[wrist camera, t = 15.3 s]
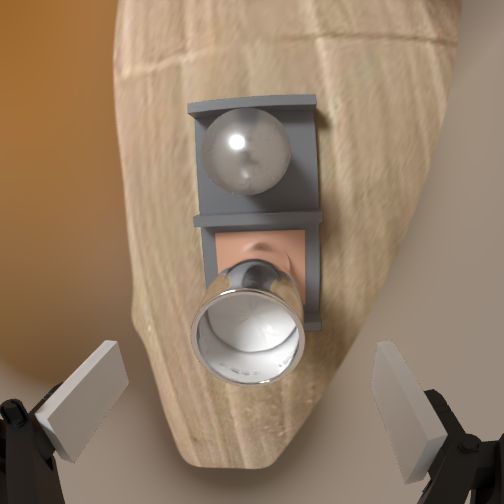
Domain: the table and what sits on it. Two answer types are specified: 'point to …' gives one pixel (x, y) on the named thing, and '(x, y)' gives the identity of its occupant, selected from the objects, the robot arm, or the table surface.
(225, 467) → the table surface
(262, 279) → the beer glass
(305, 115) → the slot rack
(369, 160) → the table surface
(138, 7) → the table surface
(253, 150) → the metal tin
